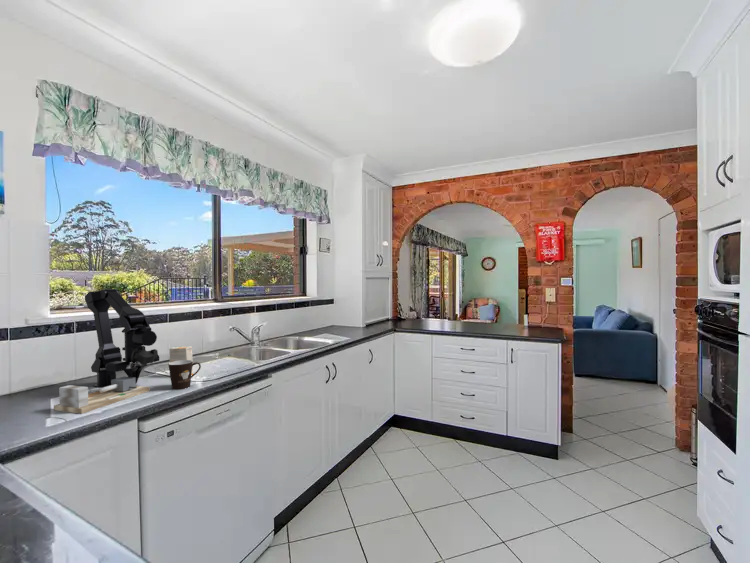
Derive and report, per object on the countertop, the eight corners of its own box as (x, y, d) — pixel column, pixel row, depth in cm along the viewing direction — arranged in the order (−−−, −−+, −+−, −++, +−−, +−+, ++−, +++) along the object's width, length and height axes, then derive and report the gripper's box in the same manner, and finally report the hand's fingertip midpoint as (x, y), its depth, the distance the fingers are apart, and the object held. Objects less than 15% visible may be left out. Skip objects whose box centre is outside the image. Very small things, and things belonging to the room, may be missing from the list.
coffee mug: (168, 391, 142) (167, 365, 142) (169, 386, 150) (168, 361, 150) (202, 387, 147) (201, 362, 147) (201, 382, 155) (200, 358, 155)
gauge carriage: (95, 395, 133) (94, 384, 133) (124, 386, 144) (123, 376, 144) (114, 397, 130) (113, 386, 130) (142, 388, 141) (141, 377, 141)
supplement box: (193, 374, 167) (192, 346, 167) (187, 377, 163) (186, 348, 163) (176, 374, 168) (175, 346, 168) (169, 377, 163) (168, 348, 163)
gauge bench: (53, 410, 124) (53, 387, 124) (124, 388, 148) (124, 369, 148) (81, 413, 120) (81, 390, 120) (149, 390, 144) (149, 371, 144)
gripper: (126, 349, 133) (128, 392, 133) (169, 340, 151) (170, 378, 151) (103, 348, 137) (105, 390, 137) (148, 340, 154) (149, 377, 155)
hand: (134, 384), depth 145 cm, fingers closed
